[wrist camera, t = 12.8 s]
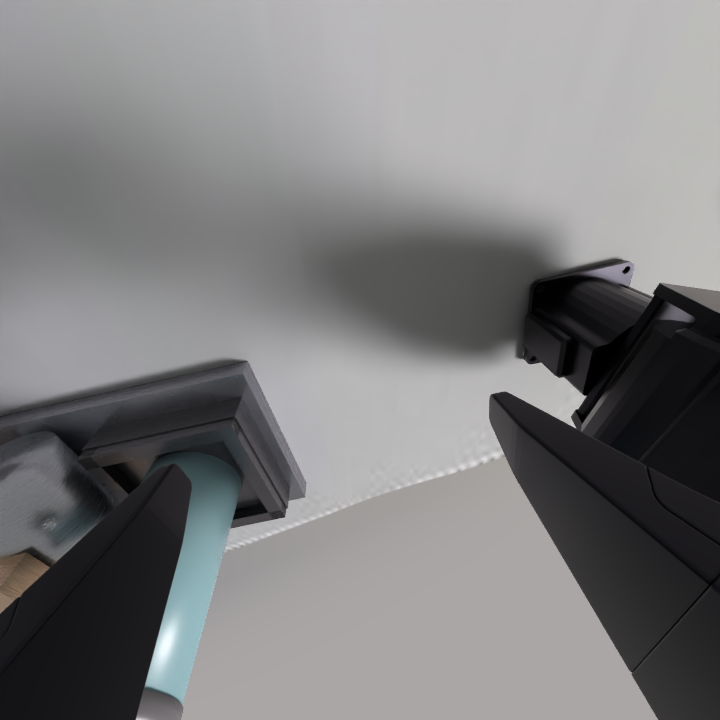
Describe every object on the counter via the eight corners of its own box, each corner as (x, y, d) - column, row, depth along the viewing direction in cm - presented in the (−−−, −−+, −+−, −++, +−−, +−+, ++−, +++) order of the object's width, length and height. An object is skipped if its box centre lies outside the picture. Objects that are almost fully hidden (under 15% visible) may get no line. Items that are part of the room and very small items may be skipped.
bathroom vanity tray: (247, 361, 22) (200, 482, 14) (305, 482, 30) (298, 608, 22) (-7, 418, 23) (-195, 565, 15) (113, 523, 31) (34, 660, 22)
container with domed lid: (205, 438, 21) (80, 713, 11) (260, 493, 25) (207, 744, 14) (100, 480, 22) (-107, 765, 12) (166, 527, 26) (51, 782, 15)
